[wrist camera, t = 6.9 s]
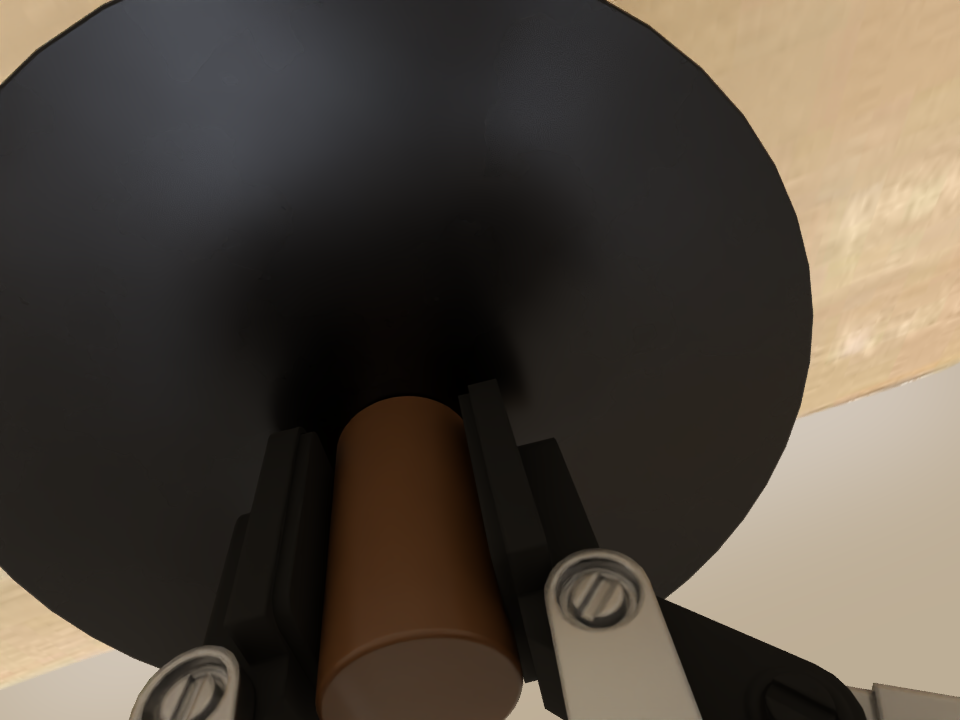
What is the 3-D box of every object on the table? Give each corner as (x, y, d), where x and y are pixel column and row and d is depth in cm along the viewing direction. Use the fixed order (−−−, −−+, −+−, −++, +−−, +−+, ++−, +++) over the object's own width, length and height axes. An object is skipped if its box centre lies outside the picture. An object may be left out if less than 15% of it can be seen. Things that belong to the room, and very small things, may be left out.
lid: (443, -394, 7) (620, -1407, 2) (885, 414, 15) (1161, 642, 10) (-257, 414, 11) (-839, 802, 6) (388, 731, 19) (392, 1020, 13)
